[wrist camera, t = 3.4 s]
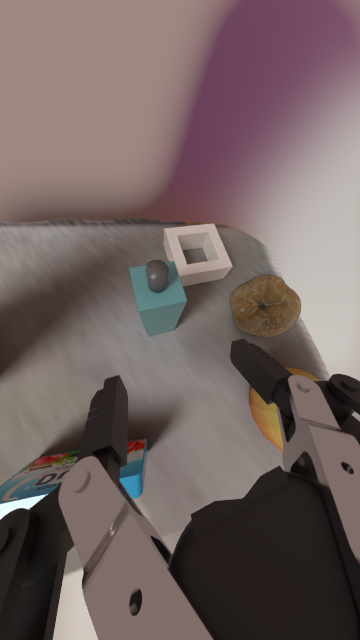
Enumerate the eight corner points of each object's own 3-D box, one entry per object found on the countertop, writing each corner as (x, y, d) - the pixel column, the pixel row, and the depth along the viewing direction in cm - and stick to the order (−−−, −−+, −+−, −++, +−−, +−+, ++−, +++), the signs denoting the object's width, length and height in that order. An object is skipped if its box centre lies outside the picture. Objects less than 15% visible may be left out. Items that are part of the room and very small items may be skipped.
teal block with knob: (148, 336, 21) (134, 300, 9) (142, 312, 22) (122, 250, 10) (174, 330, 22) (192, 289, 10) (167, 306, 23) (176, 243, 11)
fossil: (277, 263, 22) (318, 321, 17) (278, 278, 25) (313, 330, 20) (222, 292, 26) (243, 345, 21) (229, 301, 29) (249, 349, 24)
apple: (287, 362, 23) (348, 361, 16) (309, 431, 21) (395, 469, 13) (232, 371, 22) (271, 375, 14) (249, 447, 19) (308, 503, 12)
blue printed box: (147, 437, 18) (141, 473, 12) (147, 451, 18) (142, 496, 12) (38, 456, 16) (-32, 510, 10) (35, 473, 16) (-39, 539, 10)
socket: (176, 287, 24) (179, 275, 21) (163, 245, 27) (164, 228, 23) (223, 278, 26) (232, 266, 23) (207, 239, 29) (213, 223, 25)
